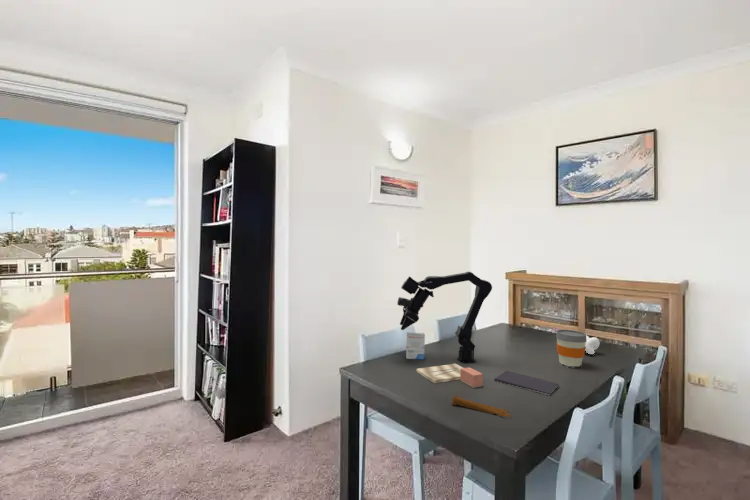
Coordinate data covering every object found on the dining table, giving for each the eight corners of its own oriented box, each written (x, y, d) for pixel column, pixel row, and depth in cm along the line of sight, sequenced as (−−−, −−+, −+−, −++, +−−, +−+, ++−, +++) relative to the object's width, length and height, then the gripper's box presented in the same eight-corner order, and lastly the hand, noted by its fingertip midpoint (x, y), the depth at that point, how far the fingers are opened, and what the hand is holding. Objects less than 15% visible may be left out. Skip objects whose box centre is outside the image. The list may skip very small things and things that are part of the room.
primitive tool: (511, 413, 124) (511, 402, 124) (510, 420, 119) (511, 409, 119) (453, 402, 131) (453, 393, 131) (450, 409, 126) (450, 399, 126)
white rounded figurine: (590, 350, 198) (591, 333, 198) (605, 357, 186) (606, 339, 186) (570, 349, 198) (570, 333, 198) (583, 357, 186) (584, 339, 186)
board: (455, 366, 168) (455, 363, 168) (475, 376, 155) (475, 374, 155) (416, 371, 160) (416, 368, 160) (434, 383, 147) (434, 380, 147)
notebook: (494, 382, 151) (550, 397, 137) (494, 378, 151) (550, 393, 137) (506, 374, 161) (559, 387, 147) (506, 370, 161) (559, 383, 147)
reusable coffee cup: (567, 370, 166) (569, 336, 165) (549, 361, 178) (550, 330, 178) (592, 369, 168) (593, 336, 168) (572, 360, 181) (573, 329, 180)
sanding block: (469, 379, 153) (469, 367, 153) (482, 386, 145) (482, 373, 145) (460, 380, 151) (460, 368, 151) (473, 388, 144) (473, 375, 143)
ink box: (423, 356, 181) (424, 332, 181) (424, 359, 176) (424, 334, 176) (406, 355, 182) (406, 331, 182) (406, 358, 177) (406, 334, 177)
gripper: (403, 287, 186) (386, 313, 186) (406, 293, 167) (387, 322, 168) (422, 299, 186) (405, 325, 187) (426, 307, 167) (407, 336, 168)
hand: (401, 327), depth 177 cm, fingers open, 9 cm apart
